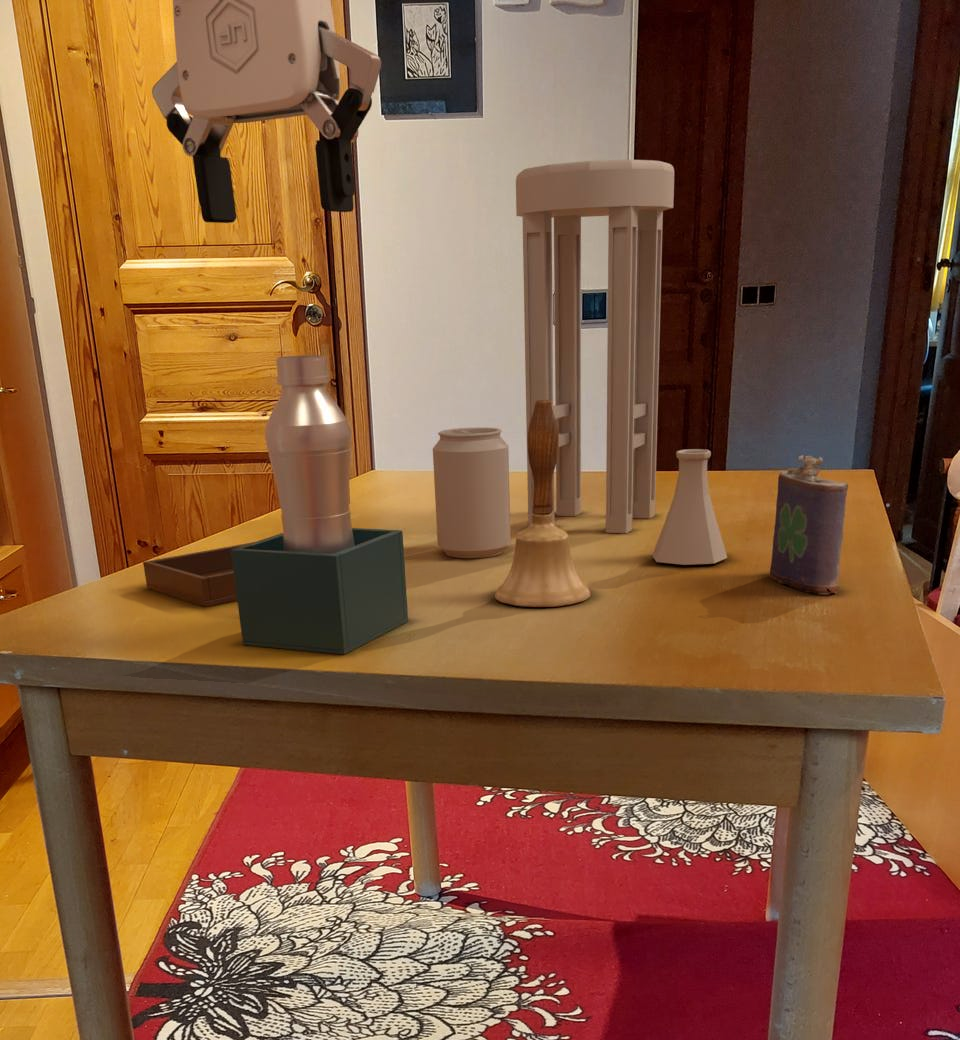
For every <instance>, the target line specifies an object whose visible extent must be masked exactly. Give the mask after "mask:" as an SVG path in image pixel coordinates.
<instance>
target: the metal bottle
mask: <svg viewBox="0 0 960 1040" xmlns="http://www.w3.org/2000/svg"><path fill="white" fill-rule="evenodd" d="M275 362H276V370H277V371H276V372H277V377H276V385H277V386H281V394H280V396H279V397H278V400H277V401H276V403H275V405H274V407H273V409H272V410H271V413H270V416H269V417H268V419H267V421H266V425H265V426H266V427H265V434H264V438H265V444H266V450H268V458H269V461H270V462H269V463H270V466H271V470H272V473H273V478H274V482H275V485H276V486H275V487H276V492H277V498H278V505H279V509H280V510H281V514H280V516H281V522H282V533H283V538H284V551H288V552H306V553H323V554H335V553H337V552H340V551H343V550H345V549H348V548H351V547H353V546H355V544H354V538H353V532H352V528H353V526H352V515H351V514H352V511H351V508H350V505H351V488H350V487H351V486H350V480H351V461H352V460H351V458H352V448H351V445H352V431H351V427H350V425H349V421H348V419H347V417H346V416H345V414H344V412H343V411H342V410H341V408H340V407H339V405H338V404H337V403H336V402H335V400H334V399H333V397H332V395H331V394H329V392H328V390H327V389H328V388H327V383H330V382H331V381H330V375H329V374H328V363H327V362H328V361H327V356H326V355H324V354H309V355H289V356H279V357H276V361H275Z"/></svg>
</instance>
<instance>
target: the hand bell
mask: <svg viewBox="0 0 960 1040" xmlns="http://www.w3.org/2000/svg"><path fill="white" fill-rule="evenodd" d="M527 446H528V458H529V463H530V467H531V470H532V474H533V480H534V493H533V505H534V506H533V514H532V523H531V525H530V526H529V527H526V528H525V529H522V530H521V531H519V532H518V533H517V534H516V536H515V546H514V554H513V559H512V563H511V567H510V569H509V573H508V574H507V577H506V578H505V579H504V582H502V584H501V585H500V586H498V587H497V589H496V591H495V594H494V598H495V600H496V601H498V602H500V603H502V604H506V605H513V606H518V607H527V608H529V607H530V608H532V607H533V608H544V607H548V608H549V607H551V608H552V607H563V606H569V605H570V606H571V605H574V604H579V603H581V602H584V601H586V600H588V599H590V597H591V591H590V589H589V587H588V585H586V584H585V583H583V581H582V580H581V578H580V576H579V575H578V573H577V571H576V569H575V566H574V563H573V559H572V554H571V547H570V539H569V534H568V533H567V532H566V531H565V530H563V529H561V528H559V527H558V526H557V525H556V524H555V525H554V524H553V522H552V513H551V512H552V511H553V507H552V478H553V473H554V474H555V470H556V462H557V457H558V448H559V434H558V427H557V423H556V419H555V416H554V413H553V410H552V404H551V400H537V401H536V402H535V407H534V411H533V415H532V418H531V421H530V425H529V429H528V441H527V440H526V447H527Z"/></svg>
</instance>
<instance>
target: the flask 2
mask: <svg viewBox="0 0 960 1040" xmlns="http://www.w3.org/2000/svg"><path fill="white" fill-rule="evenodd" d="M797 460H798V463H801V462H802V463H803V466H798V467H797V468H788V469H787V470H782V471H781V472H780V473H779V474H778V477H777V480H778V481H777V495H776V503H775V508H776V509H775V521H774V527H773V538H772V549H771V550H772V551H771V560H770V567H769V568H770V569H769V577H770V579H772V580H774V581H776V582H777V583H780V584H783V585H787V586H789V587H791V588H794V589H796V590H797V589H798V590H800V591H804V592H806V593H813V594H815V595H820V596H821V595H823V596H824V595H825V596H827V595H830V594H831V593H832V594H833V593H835V594H837V592H838V590H839V587H840V586H839V585H840V583H839V579H840V574H841V573H840V572H841V555H842V544H843V539H844V536H843V535H844V523H845V516H846V515H845V514H846V503H847V495H848V489H849V483H847V482H844V481H836V480H832V479H826V478H821V477H818V474H819V473H820V472H821V469H820V465H822V464H823V463H824V459H823V457H822V456H818V457H817V458H815V457H813V456H811V455H806V456H805V457H804V455H799V456H798V457H797ZM827 589H828V590H829V591H828V590H827Z"/></svg>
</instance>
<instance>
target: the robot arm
mask: <svg viewBox="0 0 960 1040" xmlns="http://www.w3.org/2000/svg"><path fill="white" fill-rule="evenodd" d="M332 8H333V7H332V2H331V0H172V12H173V14H172V15H173V31H174V43H175V44H174V45H175V57H176V62H175V63H174V64H173V65H172V66H171V67H170V68H169V69H168V70H167V71H166V72H165V73H164V74H163V75H162V76H161V77H160V79H158V81H157V82H156V83H155V84H153V86H152V89H151V95H152V98H153V99H154V102H155V103H156V106H157V107H158V110H159V112H160V113H161V115H162V117H163V119H164V120H166V121H165V122H166V128H167V130H168V131H169V132H170V134H171V135H172V136H173V137H174V138H175V139H176V140H177V141H178V142H179V143H180V145H181V146H182V149H183V153H184V154H185V155H186V156H188V157H192V163H193V169H194V177H195V184H196V189H197V190H196V191H197V192H196V193H197V198H198V203H199V204H198V205H199V207H200V211H201V217H202V220H203V221H204V223H212V224H213V223H216V224H231V223H235V221H236V220H237V209H236V203H235V193H234V186H233V178H232V170H231V163H230V160H229V158H228V157H224V156H222V155H221V154H222V151H223V149H224V147H225V144H226V142H227V139H228V138H229V135H230V132H231V131H232V128H233V126H234V124H246V123H255V122H262V121H271V120H280V119H286V118H293V117H300V116H301V117H302V116H307V117H308V118H309V120H311V122H312V123H313V124H314V126H315V127H316V129H318V131H319V132H320V133H321V137H322V139H318V140H315V141H316V142H315V147H314V150H315V159H316V169H317V170H316V171H317V179H318V188H319V189H318V190H319V199H320V207H321V209H322V210H324V211H325V212H334V213H350V212H351V213H352V212H353V211H354V207H355V206H354V196H355V193H356V181H355V172H354V171H355V169H354V158H353V146H352V143H354V142H355V141H357V139H358V137H359V128H360V126H361V125H362V123H363V121H364V120H365V119H366V116H368V114H369V112H370V110H371V108H372V106H373V105H372V104H373V98H372V95H373V94H374V93H375V90H376V86H377V82H378V79H379V75H380V72H381V69H382V60H381V57H380V56H378V54H375V53H374V52H372V51H370V50H368V49H366V48H365V47H362V46H360V45H358V44H357V43H355V42H353V41H351V40H349V39H348V38H346V37H343V36H342V35H340V34H338V33H336V26H335V20H334V14H333V13H334V12H333V9H332ZM340 64H342V65H344V66H346V67H347V68H348V70H349V73H350V74H349V75H350V76H349V80H348V83H349V84H348V88H347V89H346V90H345V91H344V93H343V94H342V96H341V95H340V94H341V71H340ZM340 96H341V98H340Z"/></svg>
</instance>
